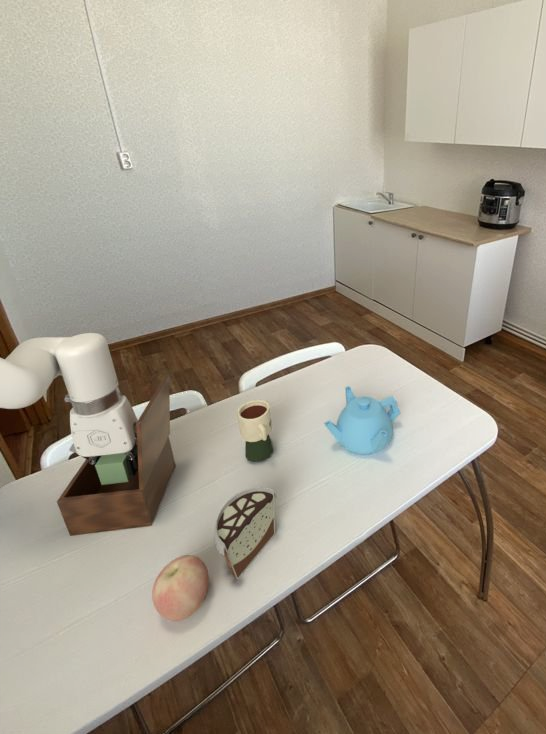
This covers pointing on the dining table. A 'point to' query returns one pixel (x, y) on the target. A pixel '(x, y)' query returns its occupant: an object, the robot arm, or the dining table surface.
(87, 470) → the chest
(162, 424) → the lid
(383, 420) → the teapot
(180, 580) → the apple
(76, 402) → the robot arm
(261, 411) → the character mug
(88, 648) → the dining table surface
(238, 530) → the slice of cake
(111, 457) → the block
